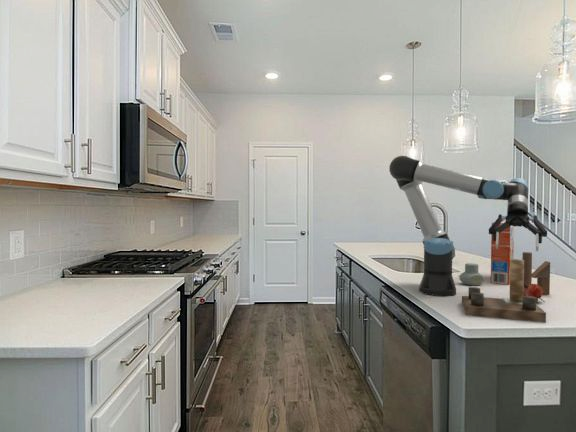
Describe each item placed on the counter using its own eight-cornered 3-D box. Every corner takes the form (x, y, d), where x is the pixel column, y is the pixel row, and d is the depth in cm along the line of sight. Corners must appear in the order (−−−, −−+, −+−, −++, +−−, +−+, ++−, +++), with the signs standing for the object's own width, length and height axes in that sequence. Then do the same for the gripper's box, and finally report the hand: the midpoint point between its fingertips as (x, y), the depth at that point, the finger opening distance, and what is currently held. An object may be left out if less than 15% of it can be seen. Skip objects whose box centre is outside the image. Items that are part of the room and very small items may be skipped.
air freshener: (465, 286, 190) (466, 265, 189) (456, 283, 198) (456, 263, 198) (487, 285, 191) (487, 265, 191) (476, 282, 199) (477, 262, 199)
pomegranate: (536, 305, 163) (515, 288, 165) (550, 292, 160) (528, 276, 163) (540, 311, 156) (517, 294, 158) (554, 298, 154) (531, 281, 156)
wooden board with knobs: (465, 315, 138) (466, 295, 138) (461, 303, 155) (462, 285, 155) (545, 322, 130) (546, 300, 130) (532, 308, 147) (532, 290, 147)
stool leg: (510, 301, 144) (511, 260, 144) (508, 299, 148) (509, 259, 148) (524, 302, 143) (525, 261, 143) (521, 300, 147) (522, 259, 147)
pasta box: (509, 285, 193) (510, 223, 193) (490, 283, 198) (491, 222, 197) (512, 278, 212) (513, 221, 212) (495, 276, 217) (496, 221, 216)
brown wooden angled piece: (549, 294, 172) (550, 253, 172) (524, 294, 173) (524, 252, 172) (544, 292, 176) (545, 252, 175) (519, 292, 176) (520, 251, 176)
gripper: (552, 215, 163) (554, 256, 151) (484, 213, 176) (481, 251, 163) (554, 202, 159) (556, 243, 146) (484, 201, 171) (480, 239, 158)
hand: (516, 247), depth 155 cm, fingers open, 13 cm apart
